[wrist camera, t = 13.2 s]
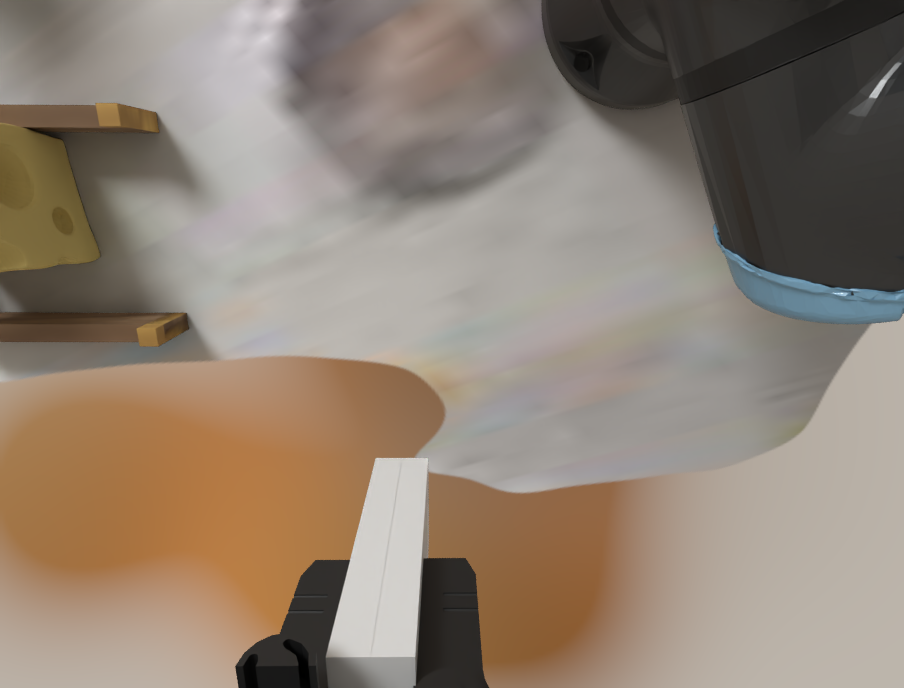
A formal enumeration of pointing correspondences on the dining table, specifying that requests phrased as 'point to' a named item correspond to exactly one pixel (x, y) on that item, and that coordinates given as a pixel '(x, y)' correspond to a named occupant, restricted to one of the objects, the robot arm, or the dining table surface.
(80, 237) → the cheese
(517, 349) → the dining table surface
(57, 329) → the bay
